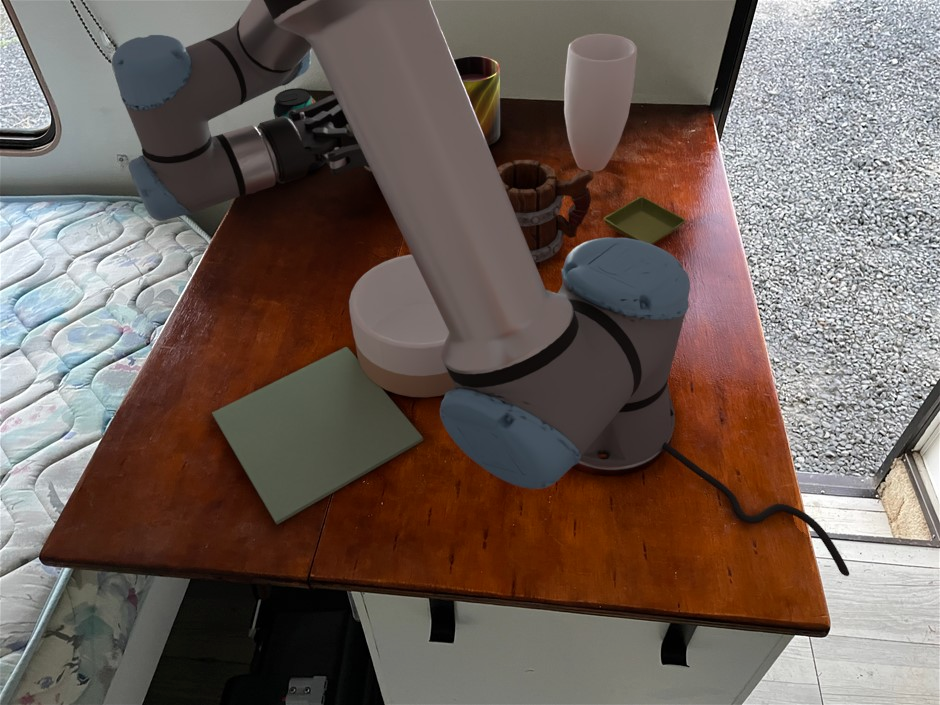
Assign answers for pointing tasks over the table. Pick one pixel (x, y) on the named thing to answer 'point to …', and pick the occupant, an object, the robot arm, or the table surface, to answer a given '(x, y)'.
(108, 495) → the table surface
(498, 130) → the mug
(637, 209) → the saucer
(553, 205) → the mug
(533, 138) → the table surface
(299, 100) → the beverage can
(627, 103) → the cup
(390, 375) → the bowl
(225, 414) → the mat
